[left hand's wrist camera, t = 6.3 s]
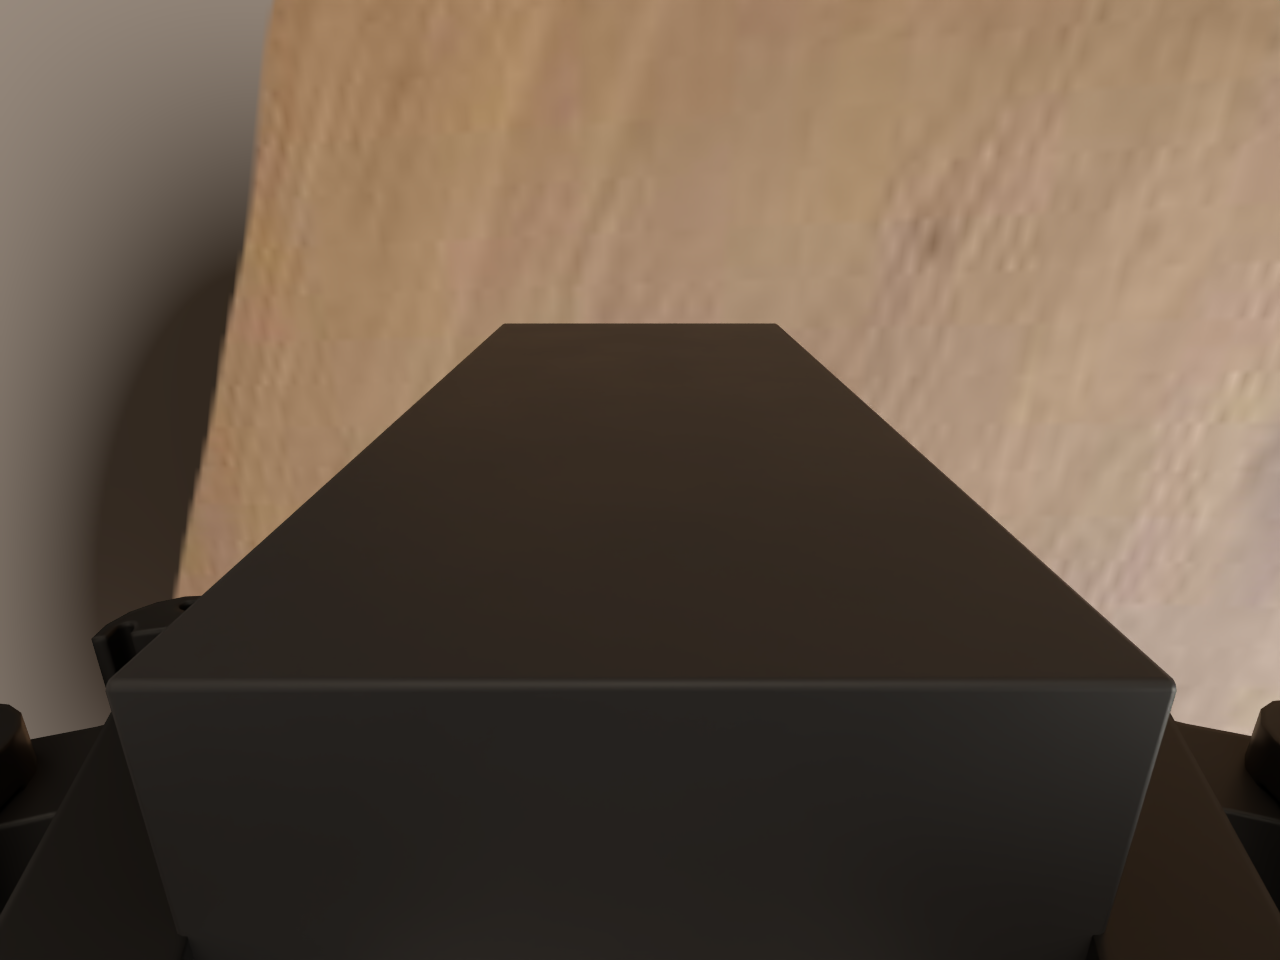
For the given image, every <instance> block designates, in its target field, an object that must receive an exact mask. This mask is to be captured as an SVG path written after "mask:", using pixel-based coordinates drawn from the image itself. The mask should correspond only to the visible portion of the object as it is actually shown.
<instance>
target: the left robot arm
mask: <svg viewBox="0 0 1280 960" xmlns="http://www.w3.org/2000/svg"><path fill="white" fill-rule="evenodd" d="M200 597H201V596H188V597H181V598H176V599H171V600H166V601H161V602H157V603H154V604H151V605H148V606H145V607H143V608H140V609H137V610H134V611H131V612H129V613H127V614H125V615H123V616H122V617H120V618H118V619H116V620H114V621H112V622H111V623H109V624H107V625H106V626H105V627H104V628H102V629H101V630H100V631H99V632H98V633H97V634H96V635H95V636H94V637H93V638H92V642H93V646H94V649H95V653H96V656H97V659H98V663H99V666H100V669H101V673H102V676H103V680H104V683H105V687H106V685H107V683H108V680H109V679H110V678H111V677H112V676H113V675H114V674H116V673H117V672H118V671H119V670H120V669H121V668H122V667H123V666H124V665H126V664H127V663H128V662H129V661H130V660H131V659H132V658H133V657H134V656H136V655H137V654H138V653H139V652H140V651H141V650H142V649H143V648H144V647H146V646H147V645H148V644H149V643H150V642H151V641H152V640H153V639H154V638H155V637H157V636H158V635H159V634H160V633H161V632H162V631H163V630H164V629H165V628H167V627H168V626H169V625H170V624H171V623H172V622H173V621H174V620H175V619H177V618H178V617H179V616H180V615H181V614H182V613H183V612H184V611H185V610H187V609H188V608H189V607H190V606H191V605H192V604H193V603H194V602H195V601H197V600H198V599H199V598H200ZM0 960H194V958H193V954H192V951H191V947H190V944H189V940H188V937H187V936H181V935H179V934H177V931H176V927H175V924H174V921H173V917H172V914H171V911H170V907H169V904H168V900H167V897H166V894H165V890H164V887H163V883H162V880H161V877H160V873H159V870H158V867H157V863H156V860H155V856H154V853H153V850H152V846H151V843H150V840H149V836H148V833H147V829H146V826H145V823H144V819H143V816H142V812H141V809H140V806H139V802H138V799H137V796H136V792H135V789H134V785H133V782H132V779H131V775H130V772H129V769H128V765H127V762H126V758H125V755H124V752H123V748H122V745H121V741H120V738H119V735H118V731H117V728H116V725H115V721H114V718H113V714H112V711H111V713H110V715H109V717H108V719H107V721H106V722H105V724H104V725H102V726H98V727H93V728H88V729H83V730H77V731H72V732H67V733H62V734H57V735H51V736H46V737H41V738H36V739H31V740H30V737H29V734H28V731H27V728H26V725H25V723H24V720H23V717H22V714H21V712H19V711H18V710H16V709H15V708H13V707H12V706H10V705H7V704H0ZM1086 960H1280V701H1272V702H1271V703H1269V704H1268V705H1266V706H1265V707H1263V708H1262V709H1261V710H1260V713H1259V716H1258V719H1257V722H1256V725H1255V728H1254V731H1253V733H1252V736H1248V735H1242V734H1237V733H1232V732H1227V731H1221V730H1216V729H1211V728H1206V727H1200V726H1195V725H1190V724H1185V723H1181V722H1177V721H1174V719H1173V717H1172V715H1171V714H1169V718H1168V721H1167V724H1166V728H1165V731H1164V735H1163V738H1162V741H1161V745H1160V748H1159V751H1158V755H1157V758H1156V762H1155V765H1154V768H1153V772H1152V775H1151V778H1150V782H1149V785H1148V788H1147V792H1146V795H1145V799H1144V802H1143V805H1142V809H1141V812H1140V815H1139V819H1138V822H1137V825H1136V829H1135V832H1134V836H1133V839H1132V842H1131V846H1130V849H1129V852H1128V856H1127V859H1126V863H1125V866H1124V869H1123V873H1122V876H1121V879H1120V883H1119V886H1118V889H1117V893H1116V896H1115V900H1114V903H1113V906H1112V910H1111V913H1110V916H1109V920H1108V923H1107V927H1106V930H1105V932H1104V933H1102V934H1100V935H1093V936H1092V940H1091V943H1090V946H1089V950H1088V953H1087V957H1086Z"/></svg>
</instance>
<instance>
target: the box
mask: <svg viewBox="0 0 1280 960" xmlns="http://www.w3.org/2000/svg"><path fill="white" fill-rule="evenodd" d="M106 694H107V698H108V701H109V704H110V708H111V711H112V714H113V718H114V721H115V725H116V728H117V731H118V735H119V738H120V741H121V745H122V748H123V752H124V755H125V758H126V762H127V765H128V769H129V772H130V775H131V779H132V782H133V785H134V789H135V792H136V796H137V799H138V802H139V806H140V809H141V812H142V816H143V819H144V823H145V826H146V829H147V833H148V836H149V840H150V843H151V846H152V850H153V853H154V856H155V860H156V863H157V867H158V870H159V873H160V877H161V880H162V883H163V887H164V890H165V894H166V897H167V900H168V904H169V907H170V911H171V914H172V917H173V921H174V924H175V927H176V931H177V934H179V935H181V936H187V937H188V940H189V944H190V947H191V951H192V954H193V958H194V960H1086V957H1087V953H1088V950H1089V946H1090V943H1091V940H1092V936H1093V935H1100V934H1102V933H1104V932H1105V930H1106V927H1107V923H1108V920H1109V916H1110V913H1111V910H1112V906H1113V903H1114V900H1115V896H1116V893H1117V889H1118V886H1119V883H1120V879H1121V876H1122V873H1123V869H1124V866H1125V863H1126V859H1127V856H1128V852H1129V849H1130V846H1131V842H1132V839H1133V836H1134V832H1135V829H1136V825H1137V822H1138V819H1139V815H1140V812H1141V809H1142V805H1143V802H1144V799H1145V795H1146V792H1147V788H1148V785H1149V782H1150V778H1151V775H1152V772H1153V768H1154V765H1155V762H1156V758H1157V755H1158V751H1159V748H1160V745H1161V741H1162V738H1163V735H1164V731H1165V728H1166V724H1167V721H1168V718H1169V714H1170V711H1171V708H1172V704H1173V701H1174V698H1175V694H1176V684H1175V682H1174V680H1173V679H1172V678H1171V677H1170V676H1169V675H1168V674H1167V673H1166V672H1165V671H1163V670H1162V669H1161V668H1160V667H1159V666H1158V665H1157V664H1156V663H1155V662H1153V661H1152V660H1151V659H1150V658H1149V657H1148V656H1147V655H1146V654H1144V653H1143V652H1142V651H1141V650H1140V649H1139V648H1138V647H1137V646H1136V645H1134V644H1133V643H1132V642H1131V641H1130V640H1129V639H1128V638H1127V637H1126V636H1124V635H1123V634H1122V633H1121V632H1120V631H1119V630H1118V629H1117V628H1115V627H1114V626H1113V625H1112V624H1111V623H1110V622H1109V621H1108V620H1107V619H1105V618H1104V617H1103V616H1102V615H1101V614H1100V613H1099V612H1098V611H1096V610H1095V609H1094V608H1093V607H1092V606H1091V605H1090V604H1089V603H1088V602H1086V601H1085V600H1084V599H1083V598H1082V597H1081V596H1080V595H1079V594H1078V593H1076V592H1075V591H1074V590H1073V589H1072V588H1071V587H1070V586H1069V585H1067V584H1066V583H1065V582H1064V581H1063V580H1062V579H1061V578H1060V577H1059V576H1057V575H1056V574H1055V573H1054V572H1053V571H1052V570H1051V569H1050V568H1048V567H1047V566H1046V565H1045V564H1044V563H1043V562H1042V561H1041V560H1040V559H1038V558H1037V557H1036V556H1035V555H1034V554H1033V553H1032V552H1031V551H1029V550H1028V549H1027V548H1026V547H1025V546H1024V545H1023V544H1022V543H1021V542H1019V541H1018V540H1017V539H1016V538H1015V537H1014V536H1013V535H1012V534H1011V533H1009V532H1008V531H1007V530H1006V529H1005V528H1004V527H1003V526H1002V525H1000V524H999V523H998V522H997V521H996V520H995V519H994V518H993V517H992V516H990V515H989V514H988V513H987V512H986V511H985V510H984V509H983V508H981V507H980V506H979V505H978V504H977V503H976V502H975V501H974V500H973V499H971V498H970V497H969V496H968V495H967V494H966V493H965V492H964V491H963V490H961V489H960V488H959V487H958V486H957V485H956V484H955V483H954V482H952V481H951V480H950V479H949V478H948V477H947V476H946V475H945V474H944V473H942V472H941V471H940V470H939V469H938V468H937V467H936V466H935V465H933V464H932V463H931V462H930V461H929V460H928V459H927V458H926V457H925V456H923V455H922V454H921V453H920V452H919V451H918V450H917V449H916V448H914V447H913V446H912V445H911V444H910V443H909V442H908V441H907V440H906V439H904V438H903V437H902V436H901V435H900V434H899V433H898V432H897V431H896V430H894V429H893V428H892V427H891V426H890V425H889V424H888V423H887V422H885V421H884V420H883V419H882V418H881V417H880V416H879V415H878V414H877V413H875V412H874V411H873V410H872V409H871V408H870V407H869V406H868V405H866V404H865V403H864V402H863V401H862V400H861V399H860V398H859V397H858V396H856V395H855V394H854V393H853V392H852V391H851V390H850V389H849V388H847V387H846V386H845V385H844V384H843V383H842V382H841V381H840V380H839V379H837V378H836V377H835V376H834V375H833V374H832V373H831V372H830V371H829V370H827V369H826V368H825V367H824V366H823V365H822V364H821V363H820V362H818V361H817V360H816V359H815V358H814V357H813V356H812V355H811V354H810V353H808V352H807V351H806V350H805V349H804V348H803V347H802V346H801V345H799V344H798V343H797V342H796V341H795V340H794V339H793V338H792V337H791V336H789V335H788V334H787V333H786V332H785V331H784V330H783V329H782V328H781V327H779V326H778V325H777V324H503V325H502V326H501V327H500V328H498V329H497V330H496V331H495V332H494V333H493V334H492V335H491V336H490V337H488V338H487V339H486V340H485V341H484V342H483V343H482V344H481V345H480V346H478V347H477V348H476V349H475V350H474V351H473V352H472V353H471V354H470V355H468V356H467V357H466V358H465V359H464V360H463V361H462V362H461V363H460V364H458V365H457V366H456V367H455V368H454V369H453V370H452V371H451V372H450V373H448V374H447V375H446V376H445V377H444V378H443V379H442V380H441V381H440V382H439V383H437V384H436V385H435V386H434V387H433V388H432V389H431V390H430V391H429V392H427V393H426V394H425V395H424V396H423V397H422V398H421V399H420V400H419V401H417V402H416V403H415V404H414V405H413V406H412V407H411V408H410V409H409V410H407V411H406V412H405V413H404V414H403V415H402V416H401V417H400V418H399V419H397V420H396V421H395V422H394V423H393V424H392V425H391V426H390V427H389V428H387V429H386V430H385V431H384V432H383V433H382V434H381V435H380V436H379V437H377V438H376V439H375V440H374V441H373V442H372V443H371V444H370V445H369V446H367V447H366V448H365V449H364V450H363V451H362V452H361V453H360V454H359V455H357V456H356V457H355V458H354V459H353V460H352V461H351V462H350V463H349V464H347V465H346V466H345V467H344V468H343V469H342V470H341V471H340V472H339V473H338V474H336V475H335V476H334V477H333V478H332V479H331V480H330V481H329V482H328V483H326V484H325V485H324V486H323V487H322V488H321V489H320V490H319V491H318V492H316V493H315V494H314V495H313V496H312V497H311V498H310V499H309V500H308V501H306V502H305V503H304V504H303V505H302V506H301V507H300V508H299V509H298V510H296V511H295V512H294V513H293V514H292V515H291V516H290V517H289V518H288V519H286V520H285V521H284V522H283V523H282V524H281V525H280V526H279V527H278V528H276V529H275V530H274V531H273V532H272V533H271V534H270V535H269V536H268V537H266V538H265V539H264V540H263V541H262V542H261V543H260V544H259V545H258V546H256V547H255V548H254V549H253V550H252V551H251V552H250V553H249V554H248V555H247V556H245V557H244V558H243V559H242V560H241V561H240V562H239V563H238V564H237V565H235V566H234V567H233V568H232V569H231V570H230V571H229V572H228V573H227V574H225V575H224V576H223V577H222V578H221V579H220V580H219V581H218V582H217V583H215V584H214V585H213V586H212V587H211V588H210V589H209V590H208V591H207V592H205V593H204V594H203V595H202V596H201V597H200V598H199V599H198V600H197V601H195V602H194V603H193V604H192V605H191V606H190V607H189V608H188V609H187V610H185V611H184V612H183V613H182V614H181V615H180V616H179V617H178V618H177V619H175V620H174V621H173V622H172V623H171V624H170V625H169V626H168V627H167V628H165V629H164V630H163V631H162V632H161V633H160V634H159V635H158V636H157V637H155V638H154V639H153V640H152V641H151V642H150V643H149V644H148V645H147V646H146V647H144V648H143V649H142V650H141V651H140V652H139V653H138V654H137V655H136V656H134V657H133V658H132V659H131V660H130V661H129V662H128V663H127V664H126V665H124V666H123V667H122V668H121V669H120V670H119V671H118V672H117V673H116V674H114V675H113V676H112V677H111V678H110V679H109V680H108V683H107V685H106Z"/></svg>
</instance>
